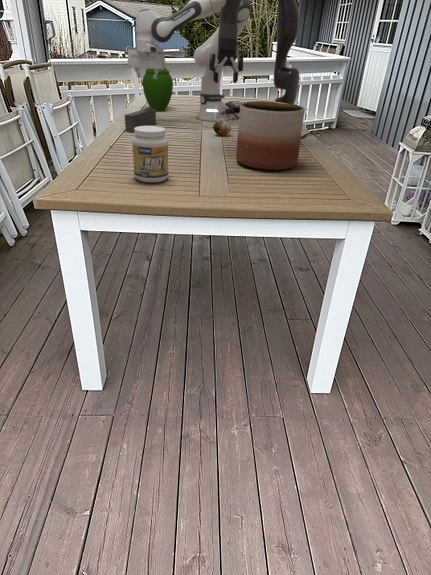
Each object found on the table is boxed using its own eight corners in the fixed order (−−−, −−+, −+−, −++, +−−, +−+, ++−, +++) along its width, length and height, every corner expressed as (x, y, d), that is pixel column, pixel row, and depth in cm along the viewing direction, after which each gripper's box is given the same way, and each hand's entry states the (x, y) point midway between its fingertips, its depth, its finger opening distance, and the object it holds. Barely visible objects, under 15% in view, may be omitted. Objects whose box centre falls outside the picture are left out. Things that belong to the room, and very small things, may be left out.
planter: (305, 172, 161) (315, 112, 150) (243, 172, 157) (248, 110, 146) (285, 155, 183) (293, 101, 171) (230, 155, 178) (233, 100, 167)
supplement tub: (139, 184, 140) (136, 133, 131) (130, 174, 149) (127, 125, 140) (173, 181, 144) (172, 131, 135) (162, 172, 153) (161, 124, 144)
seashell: (229, 134, 215) (230, 118, 210) (231, 136, 210) (232, 120, 206) (212, 134, 213) (212, 117, 209) (213, 136, 209) (214, 119, 204)
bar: (148, 123, 231) (148, 107, 227) (156, 124, 230) (155, 108, 225) (125, 131, 210) (124, 114, 206) (133, 132, 209) (132, 115, 205)
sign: (225, 107, 272) (224, 100, 297) (225, 111, 274) (224, 105, 299) (253, 108, 272) (250, 101, 298) (253, 113, 274) (250, 106, 299)
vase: (143, 107, 275) (142, 66, 262) (173, 108, 277) (172, 67, 264) (142, 112, 259) (140, 68, 246) (173, 113, 261) (173, 70, 248)
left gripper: (124, 46, 207) (126, 77, 215) (161, 49, 202) (161, 80, 209) (130, 46, 212) (132, 76, 220) (166, 48, 207) (166, 79, 214)
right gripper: (215, 36, 156) (213, 83, 165) (248, 38, 161) (244, 83, 170) (207, 36, 162) (206, 81, 171) (239, 37, 167) (236, 81, 176)
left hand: (146, 78), depth 214 cm, fingers open, 8 cm apart
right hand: (225, 82), depth 170 cm, fingers open, 8 cm apart
